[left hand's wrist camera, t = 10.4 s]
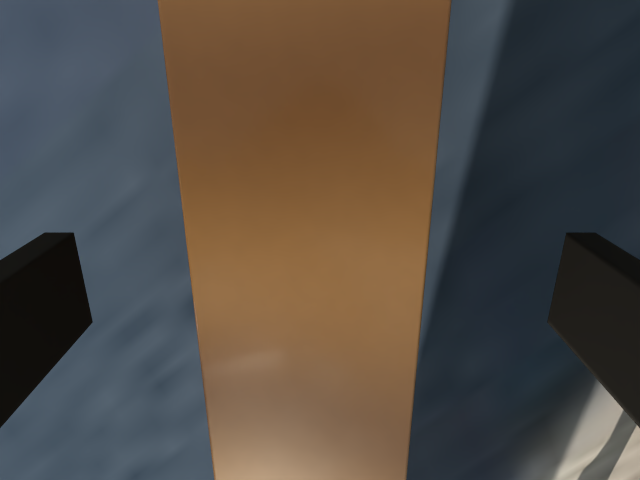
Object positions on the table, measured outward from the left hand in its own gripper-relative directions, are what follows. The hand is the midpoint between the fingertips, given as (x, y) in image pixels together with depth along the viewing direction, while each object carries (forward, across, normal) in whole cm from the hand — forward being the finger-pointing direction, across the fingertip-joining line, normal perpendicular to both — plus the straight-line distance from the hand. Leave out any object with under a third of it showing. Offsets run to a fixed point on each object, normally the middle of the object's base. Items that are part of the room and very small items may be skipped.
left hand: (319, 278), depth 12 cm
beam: (+4, 0, -20) cm, 21 cm away
